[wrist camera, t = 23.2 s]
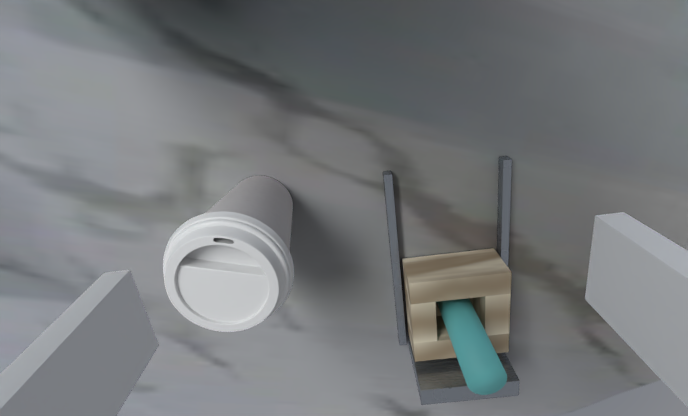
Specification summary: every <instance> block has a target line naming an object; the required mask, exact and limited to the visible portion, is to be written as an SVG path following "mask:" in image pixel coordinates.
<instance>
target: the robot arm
mask: <svg viewBox="0 0 688 416" xmlns="http://www.w3.org/2000/svg"><path fill="white" fill-rule="evenodd" d="M585 300H586V301H587V302H588V303H589V304H590V305H591V306H592V307H593V308H594V309H595V310H596V311H597V312H598V314H599V315H600V316H601V317H602V318H603V319H604V320H605V321H606V322H607V323H608V324H609V325H610V326H611V327H612V328H613V329H614V330H615V331H616V333H617V334H618V335H619V336H620V337H621V338H622V339H623V340H624V341H625V342H626V343H627V344H628V345H629V346H630V347H631V348H632V349H633V350H634V352H635V353H636V354H637V355H638V356H639V357H640V358H641V359H642V360H643V361H644V362H645V363H646V364H647V365H648V366H649V367H650V368H651V369H652V371H653V372H654V373H655V374H656V375H657V376H658V377H659V378H660V379H661V380H662V381H663V382H664V383H665V384H666V385H667V386H668V387H669V389H671V391H672V392H673V393H674V394H675V395H676V396H677V397H678V398H679V399H680V400H681V401H682V402H683V403H684V404H685V405H686V406H687V408H688V250H686V249H684V248H683V247H681V246H679V245H678V244H676V243H674V242H673V241H671V240H669V239H668V238H666V237H664V236H663V235H661V234H659V233H658V232H656V231H654V230H653V229H651V228H649V227H648V226H646V225H644V224H643V223H641V222H639V221H638V220H636V219H634V218H633V217H631V216H629V215H628V214H626V213H624V212H621V213H612V214H603V215H595V221H594V229H593V237H592V245H591V253H590V261H589V269H588V278H587V286H586V294H585ZM158 346H159V343H158V341H157V338H156V336H155V333H154V330H153V328H152V325H151V323H150V320H149V317H148V315H147V312H146V310H145V307H144V305H143V302H142V299H141V297H140V294H139V292H138V289H137V286H136V284H135V281H134V279H133V276H132V274H131V271H130V270H123V271H115V272H106V273H103V274H102V275H101V276H100V277H99V278H98V279H97V280H96V281H95V282H94V283H93V284H92V285H91V286H90V287H89V288H88V289H87V290H86V291H85V292H84V293H83V294H82V295H81V296H80V297H79V298H78V299H77V300H76V301H75V302H74V303H73V304H72V305H71V306H70V307H68V308H67V309H66V310H65V311H64V312H63V313H62V314H61V315H60V316H59V317H58V318H57V319H56V320H55V321H54V322H53V323H52V324H51V325H50V326H49V327H48V328H47V329H46V330H45V331H44V332H43V333H42V334H41V335H40V336H39V337H38V338H37V339H36V340H35V341H33V342H32V343H31V344H30V345H29V346H28V347H27V348H26V349H25V350H24V351H23V352H22V353H21V354H20V355H19V356H18V357H17V358H16V359H15V360H14V361H13V362H12V363H11V364H10V365H9V366H8V367H7V368H6V369H5V370H4V371H3V372H2V373H1V374H0V416H117V414H118V412H119V411H120V409H121V407H122V406H123V404H124V402H125V401H126V399H127V397H128V396H129V394H130V392H131V391H132V389H133V387H134V386H135V384H136V382H137V381H138V379H139V378H140V376H141V374H142V373H143V371H144V369H145V368H146V366H147V364H148V363H149V361H150V359H151V358H152V356H153V354H154V353H155V351H156V349H157V348H158Z"/></svg>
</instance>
